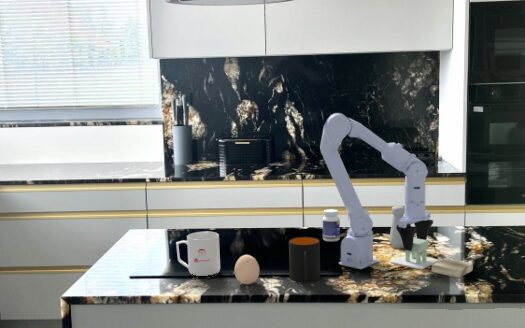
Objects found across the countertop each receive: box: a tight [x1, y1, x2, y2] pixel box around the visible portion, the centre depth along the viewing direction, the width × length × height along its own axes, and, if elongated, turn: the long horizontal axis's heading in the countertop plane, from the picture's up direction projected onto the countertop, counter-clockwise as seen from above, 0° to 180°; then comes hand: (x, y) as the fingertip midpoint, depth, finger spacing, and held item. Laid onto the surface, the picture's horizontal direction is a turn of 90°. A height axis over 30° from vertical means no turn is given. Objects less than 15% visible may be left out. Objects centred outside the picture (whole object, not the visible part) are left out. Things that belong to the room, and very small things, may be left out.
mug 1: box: [175, 231, 221, 276], centre depth 167 cm, size 12×9×11 cm
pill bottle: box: [322, 208, 341, 242], centre depth 198 cm, size 6×6×10 cm
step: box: [431, 257, 474, 279], centre depth 162 cm, size 8×8×2 cm
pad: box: [390, 253, 440, 271], centre depth 172 cm, size 10×10×1 cm
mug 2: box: [288, 236, 321, 284], centre depth 159 cm, size 8×12×10 cm
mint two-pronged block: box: [405, 237, 429, 264], centre depth 171 cm, size 5×5×6 cm
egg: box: [234, 254, 260, 285], centre depth 158 cm, size 7×7×8 cm
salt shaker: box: [388, 205, 405, 249], centre depth 187 cm, size 6×6×13 cm
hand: (414, 247), depth 171 cm, fingers open, 7 cm apart
